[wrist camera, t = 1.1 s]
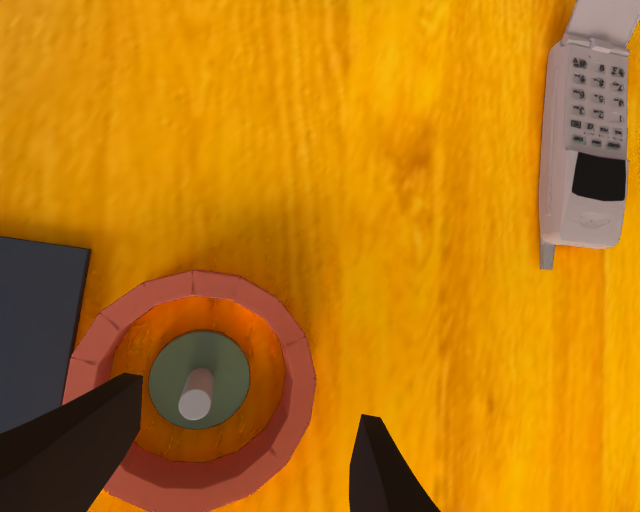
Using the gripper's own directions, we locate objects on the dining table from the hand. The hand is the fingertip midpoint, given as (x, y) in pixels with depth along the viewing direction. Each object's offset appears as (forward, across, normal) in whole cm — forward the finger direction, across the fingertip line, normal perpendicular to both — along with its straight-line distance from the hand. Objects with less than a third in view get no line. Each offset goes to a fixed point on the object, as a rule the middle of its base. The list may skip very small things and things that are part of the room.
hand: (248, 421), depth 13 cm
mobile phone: (+24, -19, -14) cm, 34 cm away
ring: (+11, +5, +6) cm, 14 cm away
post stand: (+11, +5, +6) cm, 14 cm away
